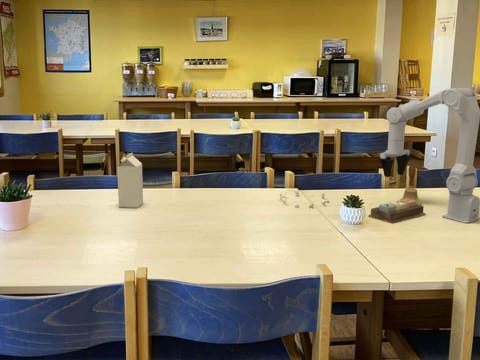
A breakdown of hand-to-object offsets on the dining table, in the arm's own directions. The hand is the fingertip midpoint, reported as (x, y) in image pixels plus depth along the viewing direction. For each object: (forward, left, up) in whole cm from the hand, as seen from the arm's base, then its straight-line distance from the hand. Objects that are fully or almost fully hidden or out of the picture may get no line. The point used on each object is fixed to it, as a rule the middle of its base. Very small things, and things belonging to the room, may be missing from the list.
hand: (393, 175), depth 207 cm
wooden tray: (-14, +15, -10) cm, 23 cm away
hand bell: (-6, -3, -10) cm, 12 cm away
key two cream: (-14, +15, -8) cm, 22 cm away
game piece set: (+19, +28, -11) cm, 35 cm away
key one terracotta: (-14, +9, -8) cm, 19 cm away
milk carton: (+51, +84, -10) cm, 99 cm away
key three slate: (-14, +20, -8) cm, 26 cm away
